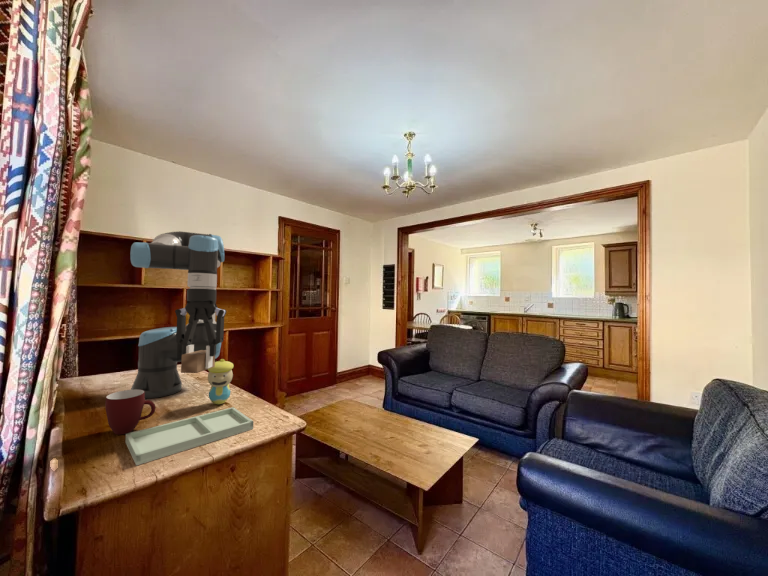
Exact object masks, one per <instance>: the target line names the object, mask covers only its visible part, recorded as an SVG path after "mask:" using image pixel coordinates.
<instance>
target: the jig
mask: <svg viewBox="0 0 768 576" xmlns="http://www.w3.org/2000/svg"><path fill="white" fill-rule="evenodd" d="M253 429H254V420H253V419H251V418H250V417H249V416H247V415H246V414H244V413H243V412H241V411H240V410H239V409H237V408H235V407H234V406H232V407H228V408H225V409H221V410H217V411H212V412H209V413H204V414H200V415H196V416H191V417H188V418H183V419H180V420H177V421H171V422H168V423H164V424H159V425H156V426H152V427H148V428H143V429H139V430H134V431H132V432H129V433H126V434H125V445H126V446H127V449H128V451H129V453H130V455H131V457H132V459H133V462H134V464H135V467H137V466H139V465H143V464H145V463H149V462H153V461H155V460H160V459H162V458H165V457H168V456H172V455H175V454H179V453H181V452H183V451H188V450H190V449H194V448H197V447H200V446H204V445H206V444H210V443H213V442H216V441H219V440H223V439H226V438H229V437H231V436H235V435H239V434H241V433H245V432H248V431H251V430H253Z"/></svg>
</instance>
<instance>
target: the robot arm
mask: <svg viewBox="0 0 768 576" xmlns="http://www.w3.org/2000/svg"><path fill="white" fill-rule="evenodd" d="M224 245H225V244H224V240H223V238H222V237H221V236H220V235H217V234H211V233H209V234H208V233H207V234H206V233H198V232H197V233H196V232H189V231H188V232H187V231H179V230H178V231H170V232H165V233H160V234H158V235H156V236H155V237H154V238H153V240H152V241H151V242H145V241H143V242H135V241H134V242H133V243H132V244H131V246H130V253H129V254H130V263H131V265H132V266H133V267H135V268H142V269H143V268H144V269H166V270H179V271H180V270H181V271H183V270H185V271H187V283H186V284H187V287H189V288H188V289H186V290H187V291H186V305H185V307H183V308H179V309H178V308H176V309H175V311H174V312H175V315H176V326H168V327H167V326H166V327H159V328H154V329H153V328H152V329H149V330H146V331H143V332H141V334H140V335H139V339H138V345H137V347H138V360H137V373H136V376H135V378H134V381H133V384H132V386H131V389H130V390H134V389H138V390H143V391H145V399H155V398H162V397H166V396H171V395H173V394H176V393H179V392H180V391H181V390H182V386H183V383H182V380H181V377H180V373H179V371H178V363H180V362H181V360H182V355H183V354H187V353H191V352H195V351H199V350H206V369H207V370H208V368H210V367H212V364H213V356H215V359H217V358H218V357H219V356H220V353H221V347H222V343H223V342H224V339H225V338H224V334H225V333H224V332H225V331H224V330H225V316H226V314H227V310H226V309H222V308H218V305H217V286H218V284H217V283H218V268H219V267H221V265H222V264H221V263H224V262H225V246H224ZM187 314H188V315H189V316H188V317H189V318H188V323H187V324H186V322H187V321H186V320H187V318H186V317H187V316H186V315H187Z"/></svg>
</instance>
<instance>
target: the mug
mask: <svg viewBox="0 0 768 576" xmlns="http://www.w3.org/2000/svg"><path fill="white" fill-rule="evenodd" d="M144 405H149V407H150V412H149V413H148V414H147V415H144V416H142V413H143V410H144V409H143V408H144ZM104 406H105V412H106V418H107V423H108V426H109V428H110V429H111V430H112V432H113V433H114V435H119V436H121V435H126V434H127V433H131V432H134V431H135V429H136V428H137V425H139V422H140V421H142V420H146V419H148V418H151V417H152V416H153V415H154V413H155V412H156V404H155V403H154V401H152V400H149V399H148V400H146V398H145V391H143V390H138V389H134V390H131V389H125V390H119V391H115V392H112V393H110V394H108V395H106V396H105V404H104Z"/></svg>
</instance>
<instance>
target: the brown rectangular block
mask: <svg viewBox="0 0 768 576" xmlns="http://www.w3.org/2000/svg"><path fill="white" fill-rule="evenodd" d="M215 362H216V358H215V356H213V364H212V367H210V368H213V367H215ZM210 368H208V369H210ZM208 369H206V350H199V351H195V352H191V353H187V354H183V355H182V360H181V365H180V374H199V373H201V372H204V371H208Z"/></svg>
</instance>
